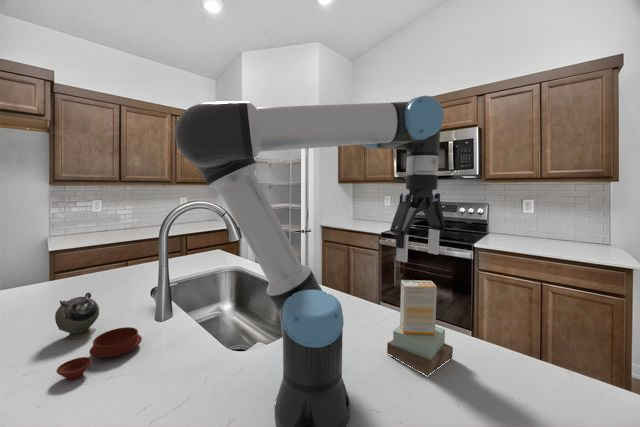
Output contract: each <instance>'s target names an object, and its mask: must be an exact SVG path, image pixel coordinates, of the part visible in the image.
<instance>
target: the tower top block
mask: <svg viewBox="0 0 640 427" xmlns="http://www.w3.org/2000/svg"><path fill="white" fill-rule="evenodd" d="M392 332H393V333H392V334H393V337H392V338H393V339H392V340H393V345H394V346H396V347H399V348H401V349H404V350H406V351H409V352H411V353H414V354H416V355H419V356H421V357H424V358H426V359H429V360H431V359H432V358H433V357H434V356H435V354H436V353H437V352H438V351H439V349H440V348H441V347H442V346H443V345H444V343H445V340H446V336H445V335H446V329H445V328H443V327H439V326H436V325H435V335H423V334H403V331H402V329H401V326H400V325H399V326H398V327H397V328H395V329H393V331H392Z"/></svg>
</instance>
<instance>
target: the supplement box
mask: <svg viewBox="0 0 640 427" xmlns="http://www.w3.org/2000/svg"><path fill="white" fill-rule="evenodd" d="M437 291H438V287H437V285H436V284H435V283H434V282H433V281H432V280H418V279H417V280H415V279H413V280H411V279H410V280H409V279H401V280H400V306H399V307H400V309H399V310H400V313H399V314H400V315H399V316H400V317H399V326H401V329H402V331H403V334H423V335H435V326H436V322H437V321H436V319H437V318H436V316H437V295H438V294H437V293H438V292H437Z"/></svg>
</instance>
